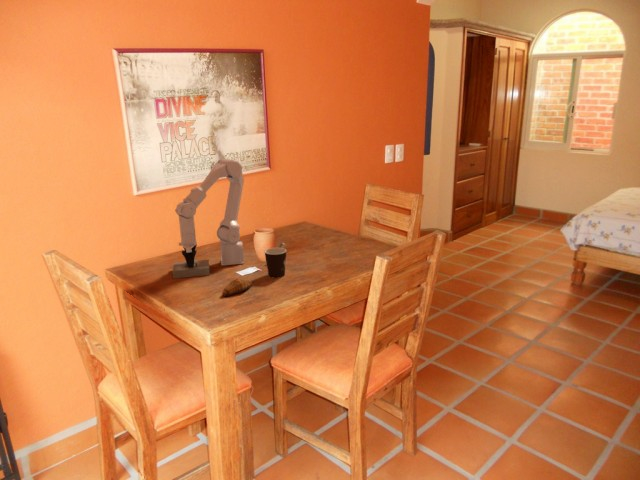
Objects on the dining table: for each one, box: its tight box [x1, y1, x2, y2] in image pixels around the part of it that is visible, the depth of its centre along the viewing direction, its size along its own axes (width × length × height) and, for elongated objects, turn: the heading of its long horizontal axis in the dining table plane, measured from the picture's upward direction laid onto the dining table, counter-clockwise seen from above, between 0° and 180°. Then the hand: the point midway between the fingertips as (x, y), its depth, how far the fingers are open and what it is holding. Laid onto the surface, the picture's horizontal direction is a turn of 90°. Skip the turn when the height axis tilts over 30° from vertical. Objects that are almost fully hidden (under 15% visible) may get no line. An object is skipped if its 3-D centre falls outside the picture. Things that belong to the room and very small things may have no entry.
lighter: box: [278, 242, 286, 249], centre depth 206 cm, size 7×2×8 cm, turn 131°
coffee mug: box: [264, 247, 287, 279], centre depth 191 cm, size 12×9×10 cm
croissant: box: [221, 278, 253, 297], centre depth 176 cm, size 14×7×5 cm, turn 140°
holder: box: [172, 259, 210, 279], centre depth 196 cm, size 14×11×3 cm
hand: (191, 264), depth 196 cm, fingers open, 7 cm apart
